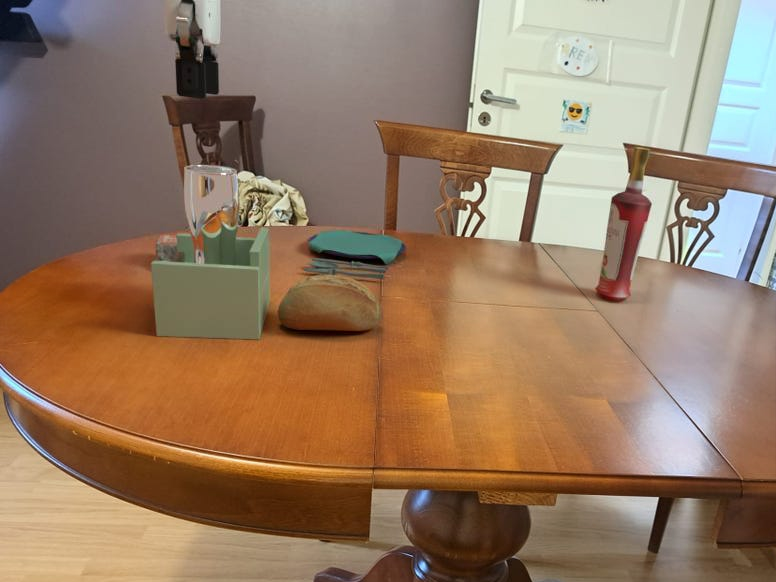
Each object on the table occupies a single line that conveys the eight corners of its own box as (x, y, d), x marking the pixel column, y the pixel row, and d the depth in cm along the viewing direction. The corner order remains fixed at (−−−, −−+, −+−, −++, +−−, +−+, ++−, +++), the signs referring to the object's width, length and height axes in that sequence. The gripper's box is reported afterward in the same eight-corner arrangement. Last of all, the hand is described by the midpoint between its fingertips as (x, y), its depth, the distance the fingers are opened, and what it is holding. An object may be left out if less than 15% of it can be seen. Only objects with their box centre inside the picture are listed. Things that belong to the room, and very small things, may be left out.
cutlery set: (410, 246, 147) (411, 236, 146) (393, 285, 119) (394, 273, 118) (320, 235, 146) (320, 225, 145) (282, 273, 119) (282, 260, 118)
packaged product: (152, 244, 109) (156, 229, 117) (154, 272, 111) (158, 256, 119) (266, 246, 116) (262, 232, 124) (267, 273, 117) (263, 257, 126)
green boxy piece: (156, 336, 88) (149, 247, 83) (182, 297, 102) (177, 219, 97) (259, 339, 91) (258, 254, 86) (270, 301, 105) (269, 226, 100)
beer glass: (245, 271, 98) (242, 167, 92) (237, 286, 91) (234, 175, 85) (194, 268, 96) (188, 162, 90) (183, 283, 90) (176, 170, 84)
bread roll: (384, 343, 95) (388, 289, 91) (275, 340, 91) (275, 284, 88) (379, 319, 103) (382, 269, 100) (279, 315, 100) (279, 264, 96)
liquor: (586, 291, 130) (614, 144, 119) (618, 292, 133) (649, 147, 122) (603, 304, 124) (635, 149, 113) (637, 304, 127) (671, 153, 116)
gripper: (175, -56, 84) (181, 88, 91) (139, -82, 69) (149, 94, 75) (238, -46, 86) (239, 95, 92) (216, -68, 70) (219, 103, 77)
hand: (199, 95), depth 84 cm, fingers open, 9 cm apart
